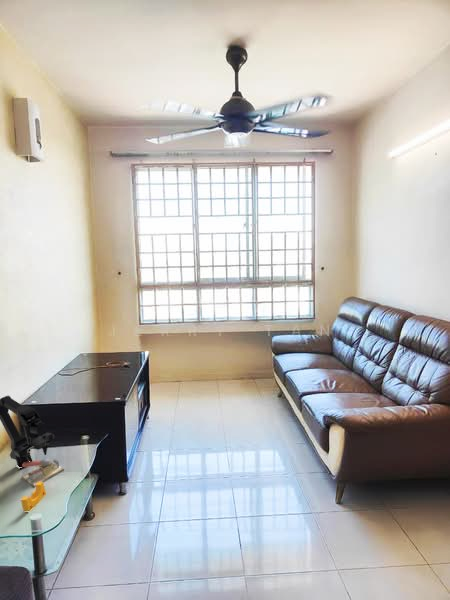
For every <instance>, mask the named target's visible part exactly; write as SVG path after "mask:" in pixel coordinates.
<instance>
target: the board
mask: <svg viewBox="0 0 450 600" xmlns="http://www.w3.org/2000/svg"><path fill="white" fill-rule="evenodd" d="M49 461H50V462H53V460H50V459H49ZM38 469H39V466H37V467H35V468H33V469H32V470H30V471H28V472H26V473H24V474H22V475H21V478H22V479H23V480H25V481H26V482H28V483H29V484H30V485H31V486H33V487H34V488H36V484H37V483H38V482H43V483H44V482H46V481H48V480H50V479H51V478H53V477H54V476H56V475H58V474H60V473H62V472H64V471H65V468H64V467H62V466H61V465H59V468H56V469H55V471H54V472H52V473H50V474H48V475H47V476H42V477H40V478H39V479H37V480H35V481H34V482H31V481H30V480H29V476H28V473H33V472H35V471H36V470H38Z"/></svg>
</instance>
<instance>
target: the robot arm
mask: <svg viewBox="0 0 450 600" xmlns="http://www.w3.org/2000/svg"><path fill="white" fill-rule="evenodd" d="M9 411H11V412H12V413H13V414H15V415H16V416H17V420H19V422H21V423H20V425H22V427H23V430H24V434H25V435H24V436H22V435H21V434H20V432H19V430H18V428H17V426H16V424H15V422H14V420H13V419H12V417H11V414H10V413H9ZM0 422H1V424H2V426H3V428H4V431H6V433H7V435H8V437H9V439H10V441H11V443H10V449H11V451H10V454H9V457H10V458H11V460H12V459H13V460H15V461H16V465H18V466H19V467H22V469H24V468H23V466H22V464H23V463H24V462H29V461H30V462H33V459H32V456H31V449H32V448H35V449H36V450H38V451H39V450H41V449H42V452H43V454H44V456H46V455H47V451H48V445H49V444H50V443H51V442H52V441H53V440H55V435H54V433H52V432H49V431H48V425H47V424H46V423H43V421H42V418H41V415H40V414H39V413H38V411H36V409H35V408H34V407H32V406H30V405H23V404H21V403H19V402H18V401H17V400H15V399H13V398H12V397H11V395H6V396H5V395H4V396H3V397H1V398H0ZM47 431H48V432H47ZM22 469H21V468H20V470H22Z"/></svg>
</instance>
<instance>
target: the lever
mask: <svg viewBox="0 0 450 600" xmlns="http://www.w3.org/2000/svg"><path fill="white" fill-rule="evenodd" d="M49 464H50V458H49V457H46V458H43V459H42V460H41V459H40V460H34V461H33V460H32V462H24V463H23V464H22V466H23V467H24V468H29V467H34V466H37V467H38V466H39V465H42V467H44V466H47V465H49Z"/></svg>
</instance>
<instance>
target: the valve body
mask: <svg viewBox="0 0 450 600" xmlns="http://www.w3.org/2000/svg"><path fill="white" fill-rule="evenodd" d="M59 466H60V462H59V460H57V459H55V458H54V459H52V462H50V464H49V465H47V466H44V467H42V465H38V467H39V469H38V470H36V471H35V472H33V473H28V472H27V473H28V476H29V480H30V481H31V482H34V481H35V480H37V479H39V478H40V477H42V476H47V475H48V474H50V473H52V472H54V471H55V469H56V468H59Z"/></svg>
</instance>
